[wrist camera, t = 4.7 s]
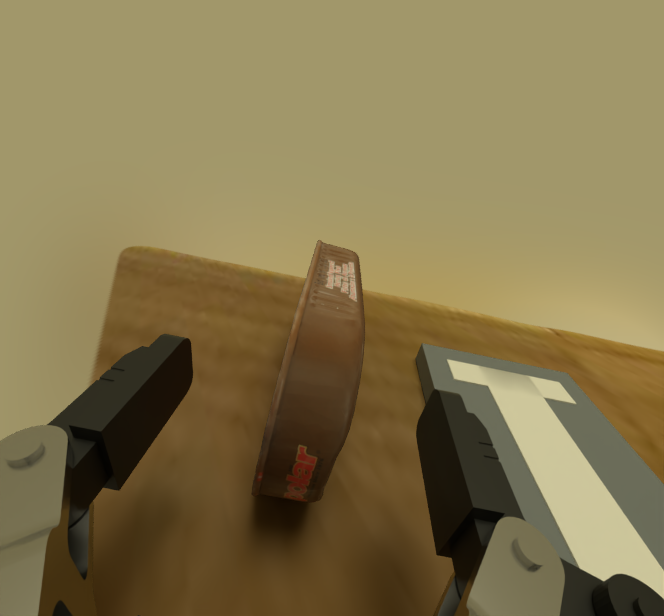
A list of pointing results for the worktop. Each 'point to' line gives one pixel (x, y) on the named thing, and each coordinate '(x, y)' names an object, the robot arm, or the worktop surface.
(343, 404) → the tin
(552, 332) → the worktop surface
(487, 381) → the letter board
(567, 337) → the worktop surface
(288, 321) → the worktop surface
